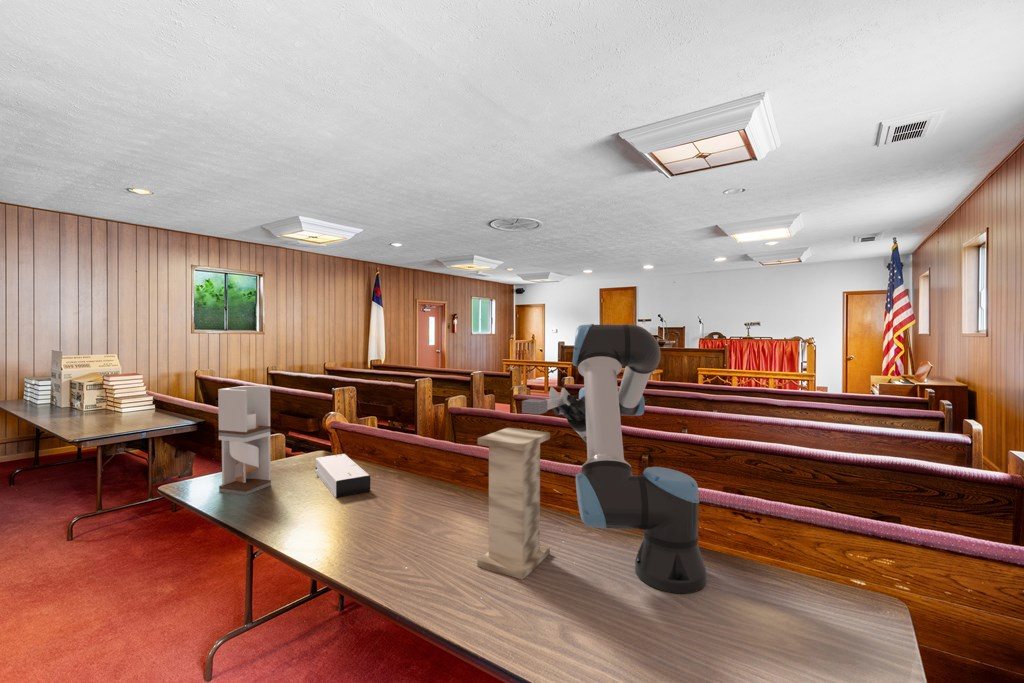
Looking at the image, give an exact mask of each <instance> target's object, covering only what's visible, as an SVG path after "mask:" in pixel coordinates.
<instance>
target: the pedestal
mask: <svg viewBox="0 0 1024 683" xmlns="http://www.w3.org/2000/svg"><path fill="white" fill-rule="evenodd" d="M550 439H551V432H549V431H540V430H532V429H523V428H515V427H505V428H502V429H499V430H497V431H494V432H490V433H489V434H486V435H483V436H480V437H477V445H478V446H484V447H488V551H487V552H486V553H485V554H484V555H482V556H481V557H480V558H478V559H477V567H479V568H482V569H485V570H488V571H492V572H495V573H498V574H501V575H502V574H503V575H506V576H509V577H513V578H516V579H519V580H525V579H526V577H527V576H529V575H530V574H531V572H532V571H533V570H535V569H536V568H537V567H538V566H539V565H540V564H541V562H543V561H544V560H545V559H546V558H547V557H548V556H549V554H550V552H551V551H550V547H549V546H544V545H541V544H540V543H541V542H540V540H541V534H540V531H541V529H540V528H541V525H540V524H541V523H540V522H541V521H540V520H541V519H540V518H541V515H540V514H541V512H540V511H541V510H540V509H541V444H542V443H544V442H545V441H546V442H547V441H549V440H550Z"/></svg>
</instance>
